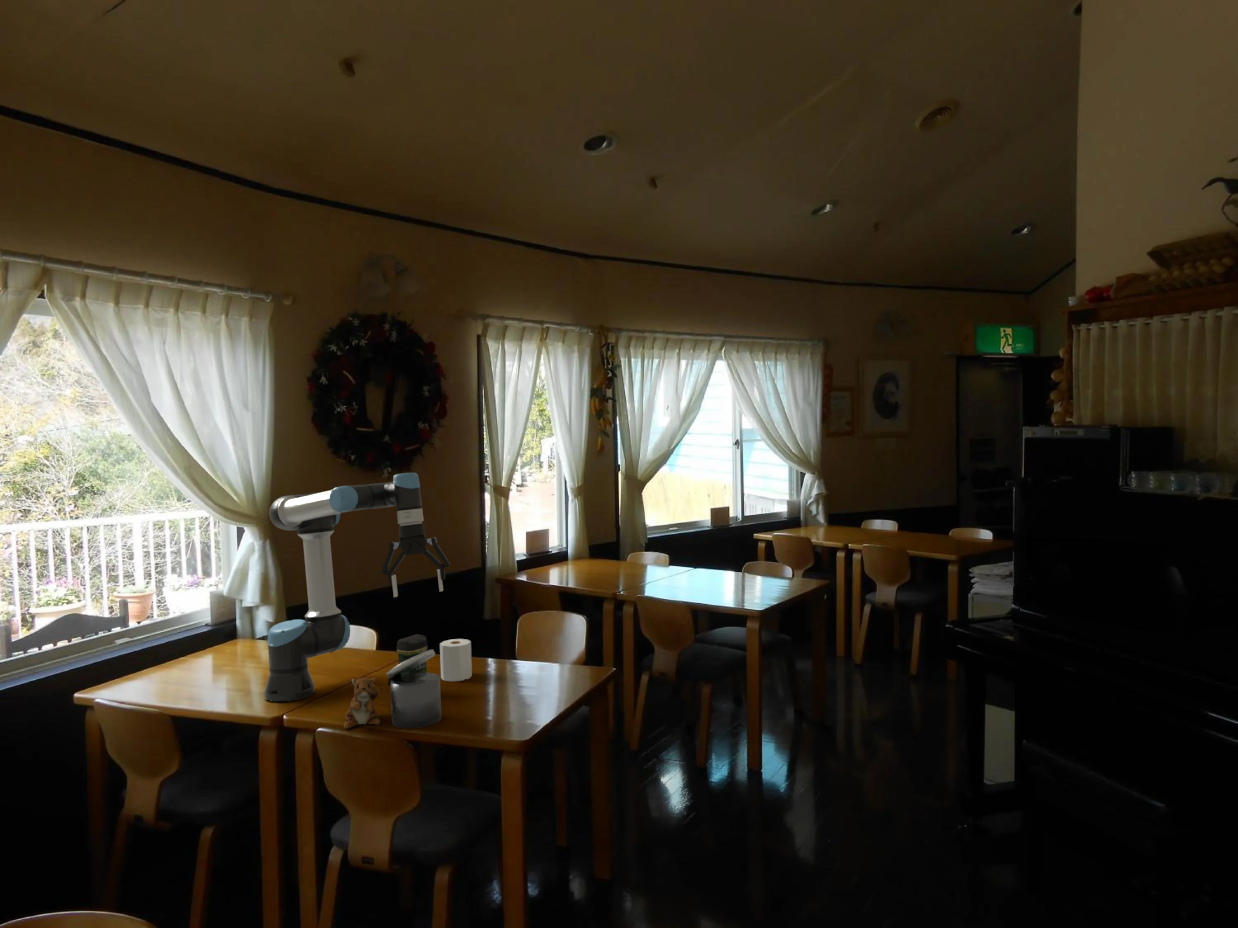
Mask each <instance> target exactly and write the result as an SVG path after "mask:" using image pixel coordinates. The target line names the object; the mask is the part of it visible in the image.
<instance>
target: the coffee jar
mask: <svg viewBox="0 0 1238 928" xmlns="http://www.w3.org/2000/svg"><path fill="white" fill-rule="evenodd" d="M396 644H397V645H396V651H397V652H396V653H397V656H398V665H399V664H401V663H402V662H404V661H406V660H408V659H410V658H412V657H414V656H416V655H418V654H420V653H423V652H425V651H428V639H427V637H426V635H422V634H413V635H409V636H406V637H404V638H403V637H402V638H399V639H398V640H397V642H396ZM411 673H428V667H427V661H426V662H424V663H422V664H421V665H419V666H417V667H415V668H413V669H411V670H409V671H407V672H405V673H403V674H401V675H405V674H411Z"/></svg>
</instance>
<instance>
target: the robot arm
mask: <svg viewBox="0 0 1238 928" xmlns="http://www.w3.org/2000/svg"><path fill="white" fill-rule="evenodd" d="M392 477H393V479H392V480H393V481H390V482H379V483H369V484H367V483H366V484H357V485H341V486H337V487H334V488H333V489H330V490H325V491H321V492H312V493H303V494H302V493H301V494H293V495H292V494H291V495H289V494H288V495H284V496H280V497H279V498H277V499H275V500H274V501H273V503H272V504H271V505H270V507H269V511H268V512H269V513H268V514H269V515H268V516H269V519H270V521H271V523H272V524H273V525H274V526H275V527H276V528H278V529H280V530H282V531H283V530H284V531H297V537H300V539H302V543H303V545H302V546H303V555H304V566H305V578H306V589H307V590H306V591H307V600H308V602H307V603H308V611H307V612H306V614H305V615H304V619H292V620H286V621H282V622H279V623H277V624H275V625H273V626H272V627H271V628H270V629H269V630H268V633H267V648H268V664H269V665H268V667H269V669H268V671H269V675H268V677H267V678H268V679H267V681H266V684H265V687H264V692H263V693H264V699H265V698H266V699H267V700H272V701H288V702H292V700H295V701H299V700H303V699H306V698H308V697H310V696H312V695H314V693H315V691H316V689H315V682H314V680H313V678H312V675H311V673H310V670H309V664H308V663H309V661H308V660H309V659H310V658H315V657H317V656H318V657H319V656H321V655H325V654H329V653H334V652H336V651H339V650H341V649H343V648H345V646H346V645H347V643H348V642H349V640H350V637H351V625H350V622H349V621H348V618H347V617H346V616H345V615H343V614H342V610H341V609H339V608H338V607H337V605H336V604H337V603H336V593H335V591H336V590H335V581H334V580H335V579H334V568H333V559H332V556H333V555H332V546H331V545H332V543H331V536H332V535H333V533H334V532H335V526H336V525H337V524H338V523H339V521H340V518H341V514H344V513H349V512H354V511H362V510H372V509H385V508H391V507H396V515H397V517H396V518H397V524H398V525H399V526H398V533H399V542H395V541H392V542H390V543H389V545H388V547H389V550H388V552H387V556H386V558H385V561H384V563H383V566H382V569H381V571H380V573H381V575H386V576H387V579H388V585H389V587H392V592H393V598H398V597H399V592H398V585H397V584H398V583H397V582H398V581H397V576H396V575H397V574H394V573H395V572H396V570H397V569H398V567H399V566H400V564H401V563H402V561H403V559H404V558H405V557H406V556H412V555H420V554H423V555H424V556H425V557H427V559H429V560H430V562H432V563H433V564H434V565H435V566H436V567H438V569H436V572H437V581H438V589H439V591H438V592H443V591H444V585H443V580H446V571H445V569H446V568H447V567H449V566H450V565H451V562H450V561H449V559H448V558H447V556H446V554H445V552H444V551H443V550H442V548H441V546H440V545H439V544H438V541H437V537H435V536H433V537H430V538H427V536H426V531H425V524H424V521H425V520H424V513H423V503H422V493H421V492H422V491H421V483H420V478H419V474H418V473H417V472H405V473H404V472H403V473H397V474H394V475H393V476H392ZM422 522H423V523H422ZM428 544H429V545H430V546H432V547H433V549H434V550H435V552H436V553H437V555H438V557H439V558H440V560H441V561H442V562H443V563H442V562H441V561H440V560H439V558H437V557H436V556H434V554H432V552H430V551H429V550H428V549H427V548H426V547H427V545H428ZM398 547H399V548H400V550H401V552H400V553H399V556H398V557H396V559H395V561H394V563H393V564H392V566H391V567H390V564H391V562H392V558H393V556H394V554H395V550H397V549H398ZM267 700H266V701H267Z"/></svg>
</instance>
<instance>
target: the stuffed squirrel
mask: <svg viewBox="0 0 1238 928" xmlns="http://www.w3.org/2000/svg"><path fill="white" fill-rule="evenodd" d="M375 681H376V678H375V677H373V678H368V677H361V678H357V679H356V678H352V679H351V683H352V685H353V686H354V690H353V693H354V694H353V695H354V696H353V697H352V700H351V702H350V704H349V709H348V710H347V711H346V713H345V715H344V717H345V722H344V724H343V729H344V730H349V729H351V728H354V727H355V726H357V724H364V725H372V724H374V725H373V726H378V725H380V724H381V720H380V717H379V715H378V713H377V711H376V709H375V699H377V698H378V696H379V695H380V689H379V688H378V686H376V684H373V683H374V682H375ZM366 723H368V724H366Z"/></svg>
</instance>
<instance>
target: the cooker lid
mask: <svg viewBox="0 0 1238 928" xmlns="http://www.w3.org/2000/svg"><path fill="white" fill-rule="evenodd" d="M435 656H436V652H435V651H434V649H427V651H425V652H423V653H420V654H418V655H416V656H414V657H412V658H410V659H408V660H406V661H404V662H402V663H401V664H399V663H398V664H397V665H396V666H394V667H392V668H391V669H389V670H388V671H387V672H386V676H387V679H388V678H390V679H391V678H394V677H396V676H399V675H401V674H403V673H405V672H407V671H409V670H411V669H413V668H415V667H417V666H419V665H421V664H422V663H424V662H426V663H427V661H428V660H431V659H432V658H433V657H435Z"/></svg>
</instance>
